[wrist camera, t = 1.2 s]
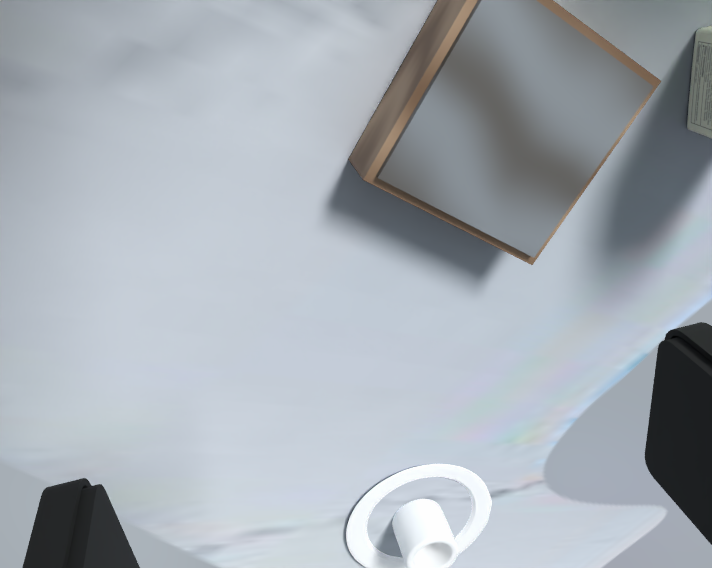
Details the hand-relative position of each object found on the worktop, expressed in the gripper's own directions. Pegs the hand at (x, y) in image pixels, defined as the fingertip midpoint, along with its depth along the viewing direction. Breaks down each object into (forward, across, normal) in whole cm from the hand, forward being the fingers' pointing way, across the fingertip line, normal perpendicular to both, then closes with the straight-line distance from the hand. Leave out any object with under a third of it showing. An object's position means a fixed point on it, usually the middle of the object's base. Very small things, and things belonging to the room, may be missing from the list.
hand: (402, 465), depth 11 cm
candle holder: (+28, -6, +34) cm, 45 cm away
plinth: (+27, -13, +3) cm, 30 cm away
